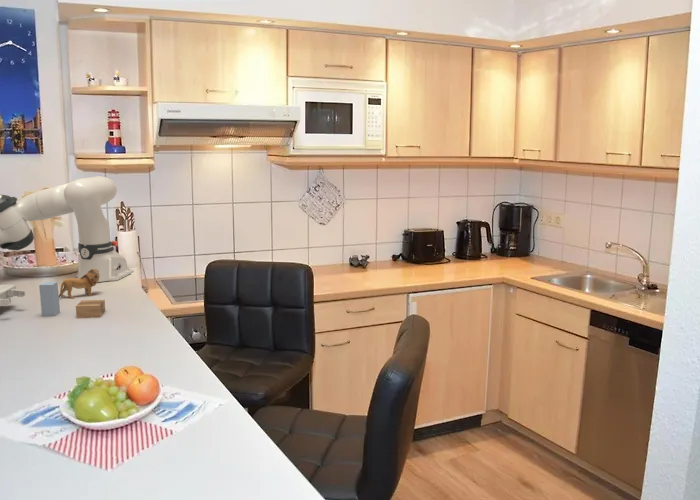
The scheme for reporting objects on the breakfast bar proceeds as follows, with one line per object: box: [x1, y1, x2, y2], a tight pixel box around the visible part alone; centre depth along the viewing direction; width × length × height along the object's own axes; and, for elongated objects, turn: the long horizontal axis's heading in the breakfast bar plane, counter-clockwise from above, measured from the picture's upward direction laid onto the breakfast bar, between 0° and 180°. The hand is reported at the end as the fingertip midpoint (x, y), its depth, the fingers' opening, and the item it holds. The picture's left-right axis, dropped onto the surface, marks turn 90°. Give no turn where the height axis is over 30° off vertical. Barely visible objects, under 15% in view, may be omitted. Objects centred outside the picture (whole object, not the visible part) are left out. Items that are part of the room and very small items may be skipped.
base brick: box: [75, 299, 106, 319], centre depth 207 cm, size 7×7×4 cm
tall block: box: [38, 281, 61, 317], centre depth 206 cm, size 4×4×10 cm
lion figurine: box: [59, 269, 100, 299], centre depth 227 cm, size 15×5×9 cm, turn 131°
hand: (17, 297), depth 205 cm, fingers open, 8 cm apart
